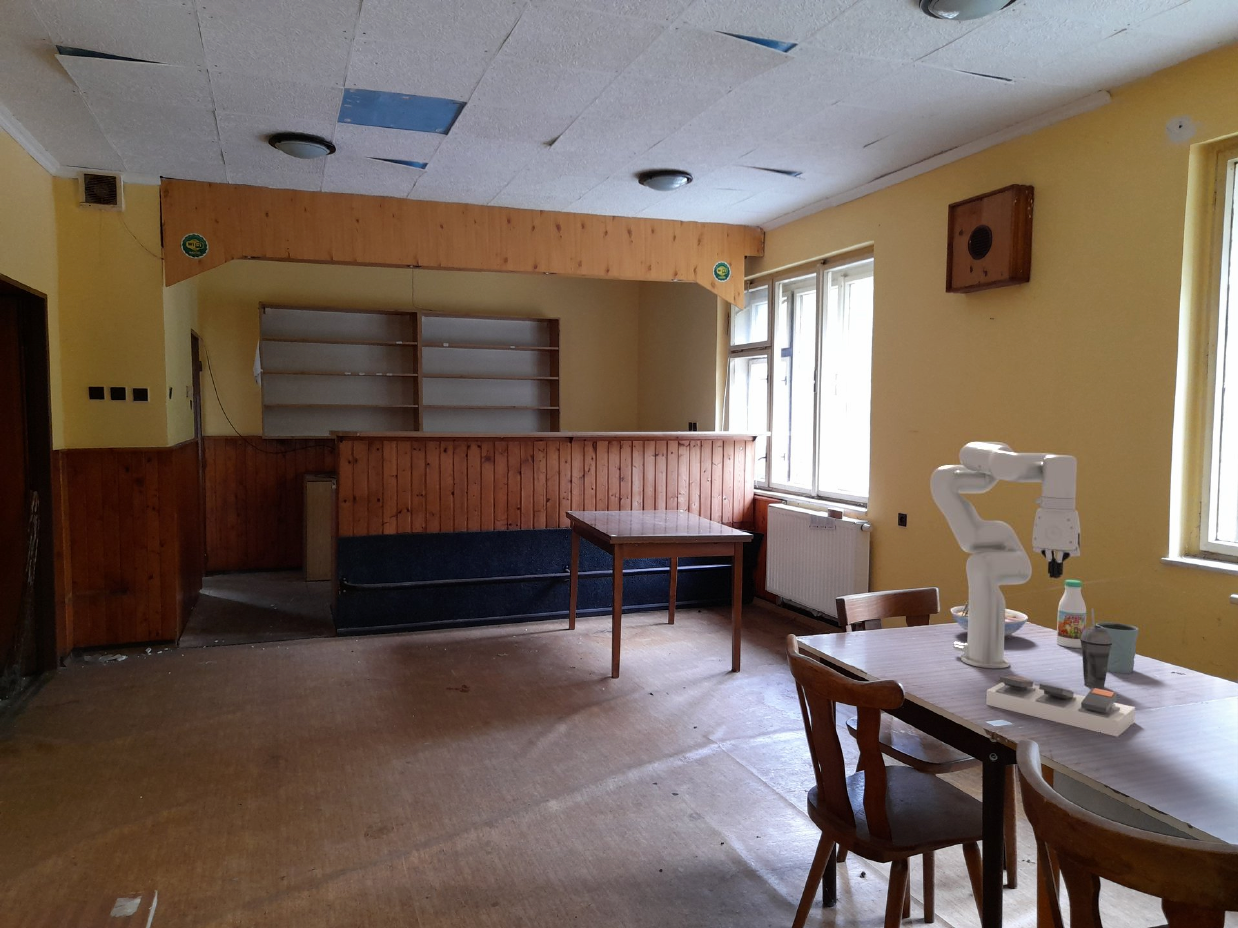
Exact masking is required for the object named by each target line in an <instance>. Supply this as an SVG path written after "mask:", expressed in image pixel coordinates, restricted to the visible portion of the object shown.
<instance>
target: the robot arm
mask: <svg viewBox="0 0 1238 928" xmlns="http://www.w3.org/2000/svg"><path fill="white" fill-rule="evenodd" d="M958 457H959V459H958V460H959V461H960V463H961V464H950V465H942V466H939V467H938V468H935V469H934V471H933V472H932V474H931V476H930V483H929V485H930V486H929V487H930V492H931V496H932V499H933V501H934V503H935V504H936V506H937V507H938V508H939V510H940V512H941V513H942V515H944V517H945V519H946V521H947V523H948V525H949V527H950V529H951V531H952V533H953V535H954V537H955V539H956V541H957V544H958V545H959V547H960V548H961V549H962V551H964V552H965V553H968V554H971V555H970V556H969V557H968V558H967V560H966V564H965V571H966V577H967V582H968V583H967V584H968V601H969V603H968V606H969V613H968V631H967V641H966V642H965V643H961V642H958V641H955V642H953V649H954V651H959V652H962V654H961V656H960V660H961V662H963V663H965V664H967V665H970V666H973V667H978V668H986V669H1006V668H1008V667H1009V666H1010V664H1011V663H1010V660H1009V659H1008V658H1006V657H1004V655H1005V653H1004V652H1005V636H1004V633H1005V609H1006V599H1005V597H1004V595H1003V593H1002V591H1001V589H1000V586H1007V585H1008V586H1009V585H1011V586H1012V585H1014V586H1015V585H1022V584H1025V583H1026V582H1028V581H1029V580H1030V578H1032V577H1031V576H1032V573H1033V572H1032V571H1033V568H1032V563H1031V559H1030V558H1029V556H1028V554H1027V552H1026V550H1025V548H1024V546H1023V545H1022V543H1021V541H1020V539H1019V537H1018V536H1017V534H1016V532H1015V531H1014V529H1013V528H1012V526H1011V525H1010V524H1008V523H1006V521H1005V522H1004V521H1002V520H986V519H983V518H981V517H980V516H979V514H978V512H977V510H976V507H974V505H973V504H972V503H971V502H970V501H969V500H968V499H966V498H965V497H964V496H963V495H961V494H984V493H987V492H989V491H990V490H991V489H992V488H993V487H995V485H996V484H997V483H998V482H999V481H1000V480H1001V481H1007V482H1013V483H1041V496H1040V497H1039V498H1037V497H1036V498H1035V500H1034V501H1035V504H1036V505H1037V504H1038V505H1040V507H1039V508H1037V509H1036V513H1035V517H1034V523H1033V530H1032V540H1031V542H1032V547H1033V548H1032V550H1033V552H1036V553H1037V554H1038V553H1039V554H1041V555H1042V556H1043V557H1044V558H1045V559H1046V561H1047V564H1048V565H1047V574H1049V578H1051V579H1052V578H1054V579H1059V578H1061V576H1062V575H1063V572H1064V563H1065V562H1066V561H1067V560H1068V559H1069V558H1070V557H1071V558H1072V557H1073V558H1074V557H1079V556H1080V555H1081V551H1080V547H1081V524H1080V517H1079V511H1078V510H1076V493H1077V469H1078V466H1077V465H1078V463H1077V462H1078V461H1077V458H1076V457H1075V456H1074V455H1067V454H1055V453H1047V452H1042V453H1041V452H1015V451H1014V449H1012V448H1011V446H1010V445H1008V444H1007V443H1005V442H1000V441H999V442H998V441H973V442H969V443H967V444H965V445H964V446H963V447H962V448H961V449H960V451H959V456H958ZM1055 551H1057V557H1056V553H1055Z"/></svg>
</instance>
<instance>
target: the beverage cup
mask: <svg viewBox="0 0 1238 928" xmlns="http://www.w3.org/2000/svg"><path fill="white" fill-rule="evenodd" d="M1094 611H1095V610H1094V608H1091V611H1090V612H1091V621H1092V625H1091V626H1088V627H1086V629H1085V630H1084V631H1083V633H1082V635H1081V639H1080V641H1081V648H1080V649H1081V652H1082V655H1081V657H1082V671H1083V673H1082V674H1083V682H1084V683H1083V684H1084V686H1085V687H1088V688H1091V689H1092V688H1097V689H1104V688H1105V684H1106V681H1107V680H1106V679H1107V672H1108V671H1107V666H1108V659H1109V652H1110V650H1111V645H1112V639H1111V636H1110V634H1109V633H1108V631H1107V630H1106V629H1104V628H1102V627H1100V626H1096V623H1095V613H1094Z"/></svg>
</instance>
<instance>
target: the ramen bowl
mask: <svg viewBox="0 0 1238 928" xmlns="http://www.w3.org/2000/svg"><path fill="white" fill-rule="evenodd" d="M950 612H951V614H952V617H953V618H954V620H955V621H956V622H957V623H956V624H957V625H959V627H961V628H962V629H964V630H966V631H967V632H968V613H969V600H966V601H965V604H964V605H961V606H954V607H951V608H950ZM1028 619H1029V617H1028V615H1027V614H1026V613H1025V614H1024V613H1023V612H1020V611H1016V610H1012V609H1009V608H1008V609H1007V608H1005V633H1004V637H1007V636H1010V635H1013V634H1015V633H1016V632H1018V631H1019V630H1020V629H1021V628H1023V626H1024V625H1025V624H1026V623H1027V621H1028Z"/></svg>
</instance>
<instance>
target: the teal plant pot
mask: <svg viewBox="0 0 1238 928" xmlns="http://www.w3.org/2000/svg"><path fill="white" fill-rule="evenodd" d="M1095 626H1100V627H1102V628H1104V629H1106V630H1107V631H1108V633H1109V634H1110V636H1111V639H1112V645H1111V650H1110V652H1109V659H1108V666H1107V672H1109V673H1116V674H1131V673H1133V671H1134V666H1135V656H1136V650H1137V649H1136V648H1137V647H1136V646H1137V640H1138V634H1139V628H1138V627H1136V626H1134V625H1131V624H1125V623H1120V622H1119V623H1118V622H1111V621H1110V622H1107V621H1105V622H1097V623H1095Z"/></svg>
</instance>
